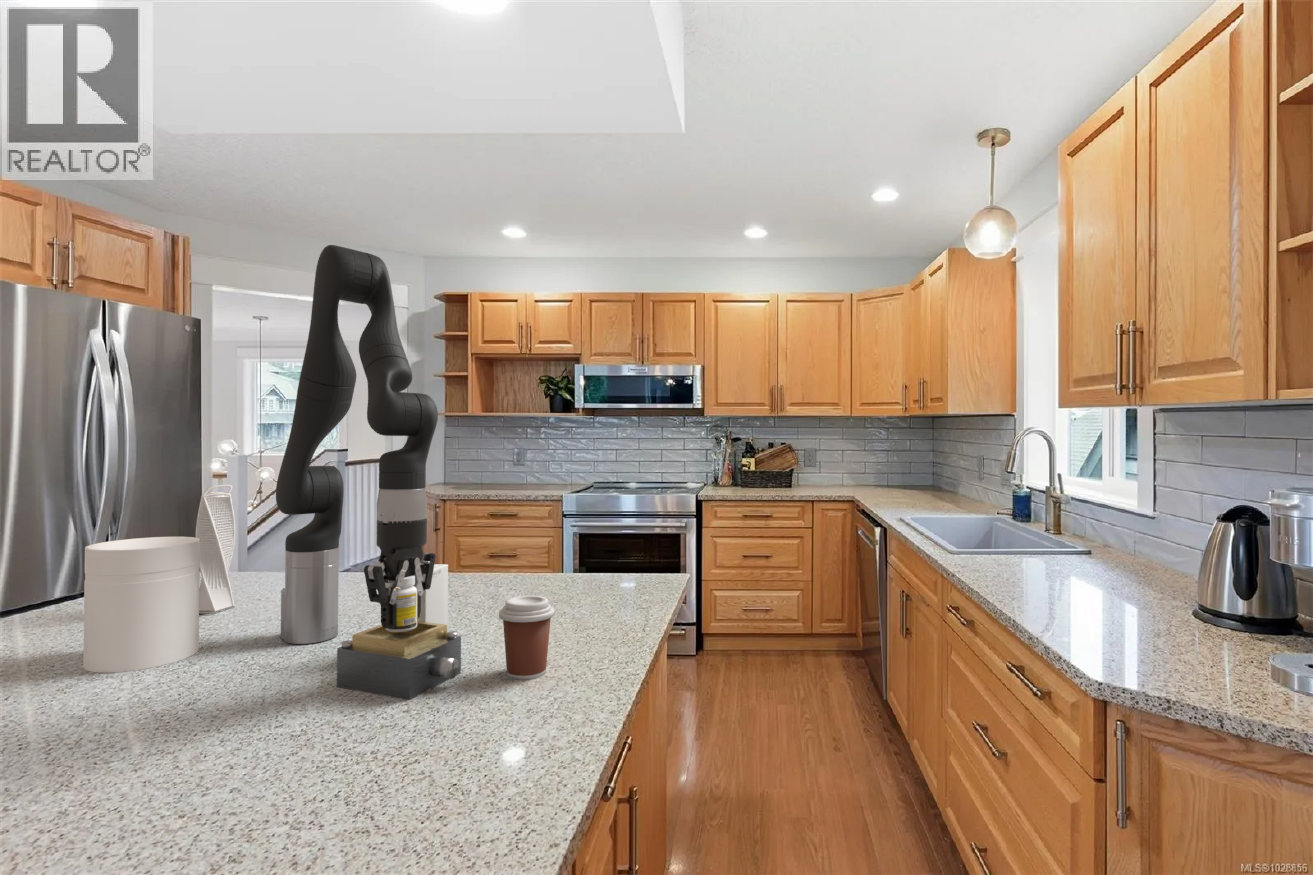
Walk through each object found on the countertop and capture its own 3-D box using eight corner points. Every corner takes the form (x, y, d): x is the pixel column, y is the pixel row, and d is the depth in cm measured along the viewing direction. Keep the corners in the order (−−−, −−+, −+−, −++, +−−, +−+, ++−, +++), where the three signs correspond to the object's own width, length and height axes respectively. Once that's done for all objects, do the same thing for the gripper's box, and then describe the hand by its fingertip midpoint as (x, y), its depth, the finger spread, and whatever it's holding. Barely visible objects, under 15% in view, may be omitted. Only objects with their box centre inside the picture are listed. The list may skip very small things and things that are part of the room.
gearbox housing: (336, 687, 101) (337, 635, 101) (392, 662, 112) (393, 616, 113) (426, 702, 95) (427, 647, 95) (476, 675, 107) (476, 626, 107)
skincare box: (424, 662, 113) (425, 572, 113) (390, 659, 114) (391, 570, 114) (449, 647, 121) (450, 563, 121) (417, 645, 123) (418, 561, 123)
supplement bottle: (391, 624, 107) (391, 573, 107) (420, 624, 107) (421, 573, 107) (381, 633, 102) (381, 579, 102) (412, 632, 102) (412, 579, 102)
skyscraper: (212, 604, 152) (213, 484, 152) (243, 605, 151) (245, 484, 151) (181, 613, 143) (182, 486, 144) (214, 615, 142) (215, 486, 143)
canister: (218, 650, 119) (219, 540, 119) (115, 678, 104) (117, 553, 104) (166, 638, 126) (167, 534, 126) (62, 664, 111) (64, 546, 111)
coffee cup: (506, 686, 102) (506, 609, 102) (492, 668, 110) (492, 597, 110) (561, 677, 106) (562, 603, 106) (544, 660, 114) (545, 591, 114)
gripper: (414, 511, 113) (413, 610, 113) (348, 520, 99) (347, 632, 99) (450, 513, 110) (449, 614, 110) (388, 522, 97) (387, 638, 97)
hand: (401, 622), depth 105 cm, fingers closed on supplement bottle, 4 cm apart
